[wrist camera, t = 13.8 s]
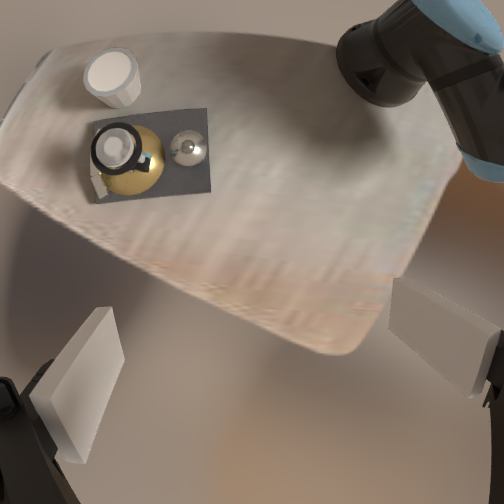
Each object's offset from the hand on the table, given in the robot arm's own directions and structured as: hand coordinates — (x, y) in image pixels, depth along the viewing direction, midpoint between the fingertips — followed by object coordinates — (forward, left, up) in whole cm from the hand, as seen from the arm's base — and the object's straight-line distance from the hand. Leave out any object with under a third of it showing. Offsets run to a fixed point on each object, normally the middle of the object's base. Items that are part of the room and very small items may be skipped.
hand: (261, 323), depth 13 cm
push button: (+11, -12, -26) cm, 31 cm away
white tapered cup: (+12, -22, -28) cm, 38 cm away
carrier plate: (+8, -12, -28) cm, 32 cm away
